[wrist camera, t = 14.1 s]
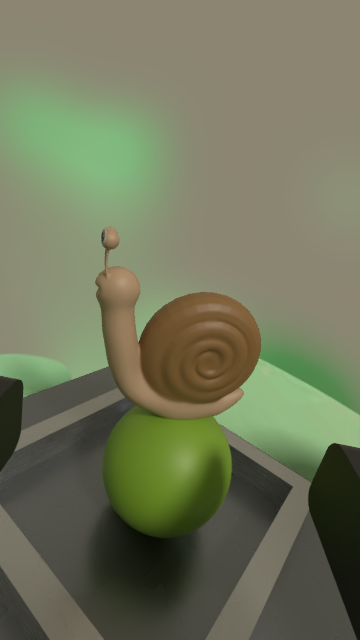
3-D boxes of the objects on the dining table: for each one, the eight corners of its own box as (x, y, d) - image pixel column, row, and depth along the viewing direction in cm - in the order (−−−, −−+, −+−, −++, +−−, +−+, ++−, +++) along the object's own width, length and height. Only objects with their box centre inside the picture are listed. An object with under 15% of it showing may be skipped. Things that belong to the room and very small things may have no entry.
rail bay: (-154, 481, 14) (-163, 435, 13) (119, 372, 27) (123, 345, 26) (271, 1462, 4) (347, 1537, 3) (390, 551, 17) (412, 516, 16)
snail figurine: (76, 462, 17) (100, 215, 12) (197, 458, 18) (257, 242, 14) (66, 583, 12) (101, 246, 7) (232, 562, 13) (341, 281, 9)
